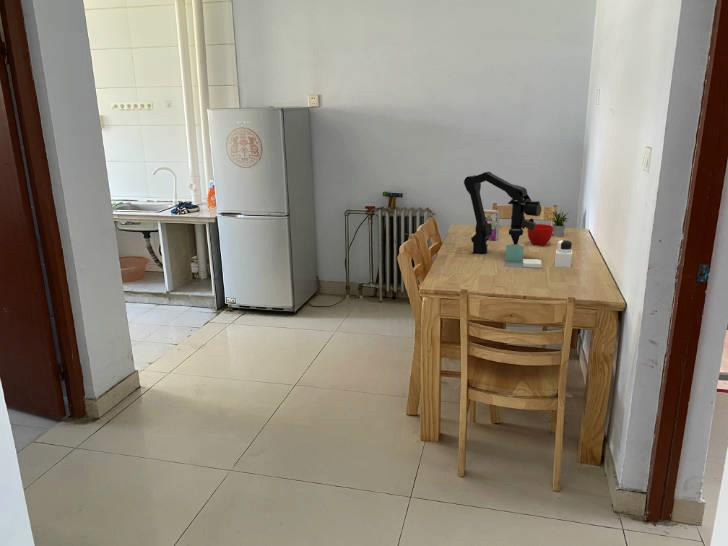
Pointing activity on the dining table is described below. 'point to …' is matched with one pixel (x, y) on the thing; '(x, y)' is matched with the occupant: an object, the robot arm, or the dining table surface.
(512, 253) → the tile
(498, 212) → the candy bar box
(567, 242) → the medicine bottle
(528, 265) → the flat tile
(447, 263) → the dining table surface
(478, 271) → the dining table surface
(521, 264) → the mat
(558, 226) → the house plant
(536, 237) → the ceramic cup
